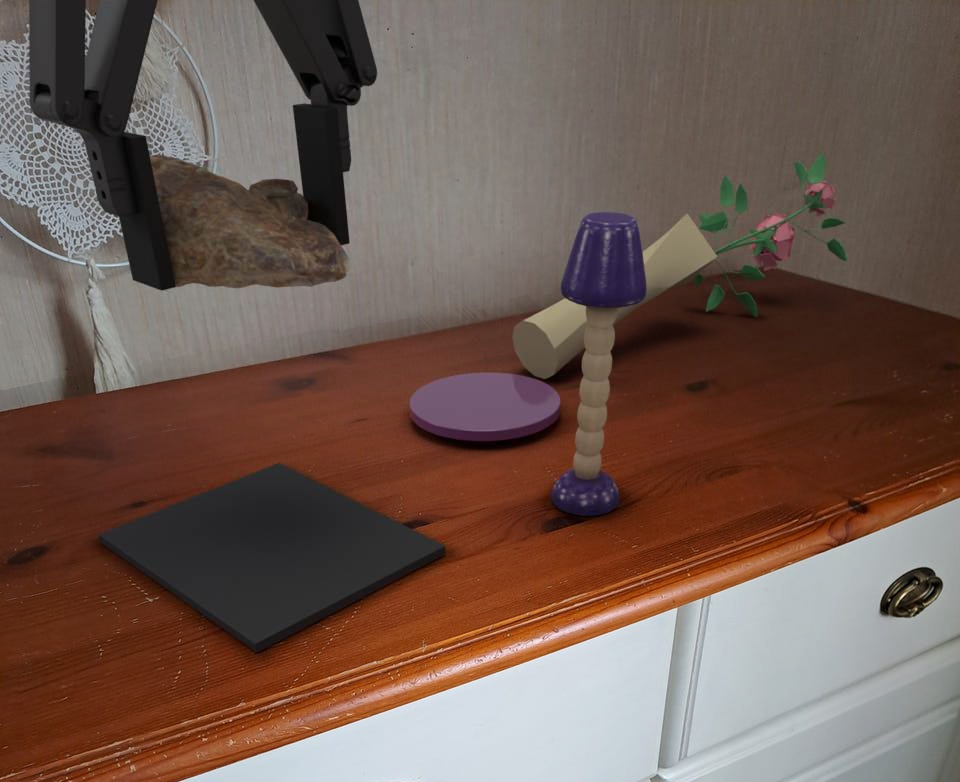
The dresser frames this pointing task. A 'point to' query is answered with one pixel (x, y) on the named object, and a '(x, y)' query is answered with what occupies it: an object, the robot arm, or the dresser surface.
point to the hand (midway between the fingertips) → (246, 261)
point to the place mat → (270, 552)
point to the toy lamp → (598, 346)
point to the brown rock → (241, 231)
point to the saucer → (485, 406)
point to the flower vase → (679, 270)
